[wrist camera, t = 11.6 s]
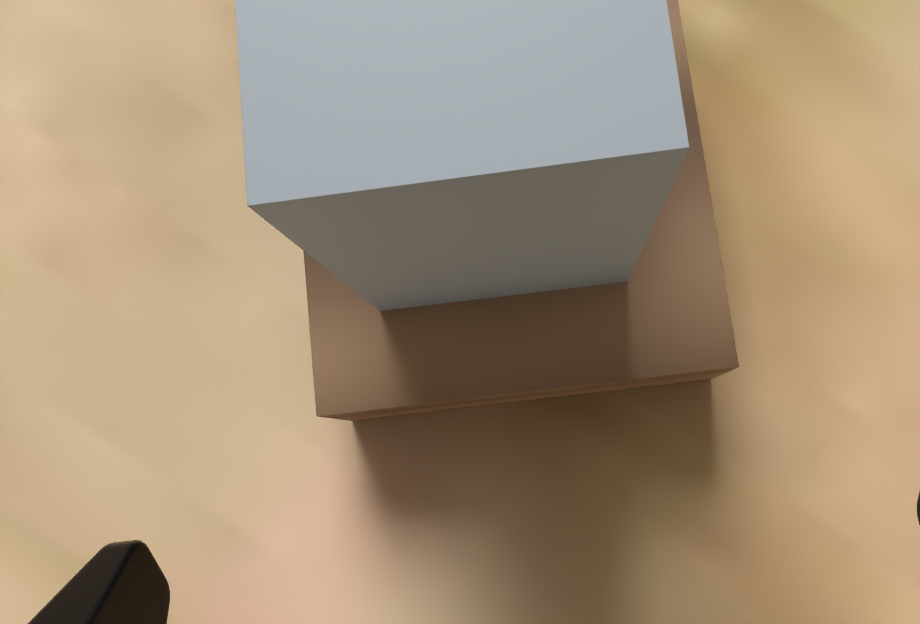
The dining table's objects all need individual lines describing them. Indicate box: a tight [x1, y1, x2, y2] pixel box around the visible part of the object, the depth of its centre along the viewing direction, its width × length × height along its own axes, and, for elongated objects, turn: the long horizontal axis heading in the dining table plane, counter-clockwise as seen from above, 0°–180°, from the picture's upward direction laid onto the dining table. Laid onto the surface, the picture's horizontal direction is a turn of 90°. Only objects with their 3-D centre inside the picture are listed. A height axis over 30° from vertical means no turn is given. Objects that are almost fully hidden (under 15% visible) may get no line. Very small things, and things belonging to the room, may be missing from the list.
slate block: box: [235, 0, 689, 311], centre depth 16 cm, size 6×6×9 cm
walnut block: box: [304, 0, 739, 421], centre depth 22 cm, size 10×10×4 cm
